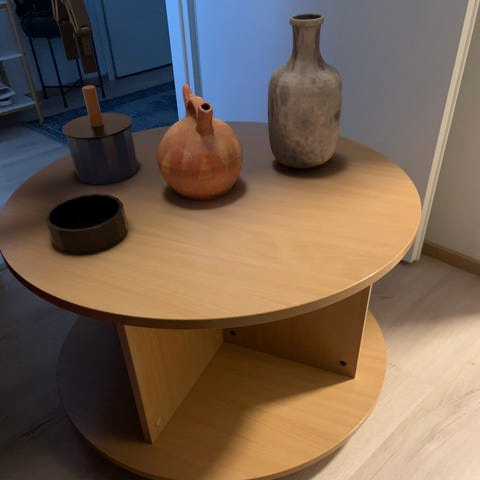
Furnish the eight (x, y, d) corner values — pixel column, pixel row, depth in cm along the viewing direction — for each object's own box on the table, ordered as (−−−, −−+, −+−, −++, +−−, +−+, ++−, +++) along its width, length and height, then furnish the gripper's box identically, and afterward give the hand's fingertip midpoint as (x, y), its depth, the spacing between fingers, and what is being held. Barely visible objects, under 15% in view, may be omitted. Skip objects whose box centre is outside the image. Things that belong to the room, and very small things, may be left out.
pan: (63, 263, 91) (55, 239, 88) (46, 229, 101) (38, 206, 98) (138, 239, 96) (133, 216, 93) (114, 209, 106) (109, 187, 103)
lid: (73, 148, 107) (61, 104, 101) (56, 127, 117) (44, 85, 112) (142, 131, 112) (134, 88, 106) (120, 112, 123) (111, 72, 117)
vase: (273, 181, 112) (272, 28, 92) (264, 153, 124) (261, 12, 105) (344, 174, 112) (358, 21, 93) (328, 147, 125) (337, 6, 105)
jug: (155, 179, 116) (139, 87, 103) (230, 165, 120) (223, 74, 107) (172, 215, 103) (155, 115, 90) (255, 198, 106) (251, 99, 93)
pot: (86, 189, 114) (74, 144, 107) (70, 167, 124) (58, 124, 117) (146, 173, 119) (138, 129, 112) (126, 153, 128) (117, 111, 122)
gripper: (92, -60, 85) (117, 75, 99) (57, -65, 102) (83, 51, 116) (47, -56, 82) (79, 82, 96) (19, -62, 99) (50, 57, 113)
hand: (81, 65), depth 106 cm, fingers open, 13 cm apart
